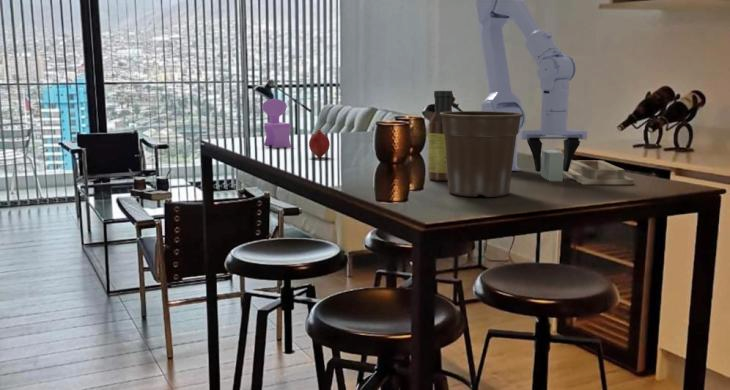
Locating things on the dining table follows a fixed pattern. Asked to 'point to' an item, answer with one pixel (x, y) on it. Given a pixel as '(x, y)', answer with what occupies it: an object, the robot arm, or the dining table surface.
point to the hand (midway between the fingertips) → (551, 171)
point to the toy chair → (276, 124)
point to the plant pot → (480, 151)
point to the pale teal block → (552, 165)
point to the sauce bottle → (438, 137)
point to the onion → (319, 143)
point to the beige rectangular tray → (597, 172)
